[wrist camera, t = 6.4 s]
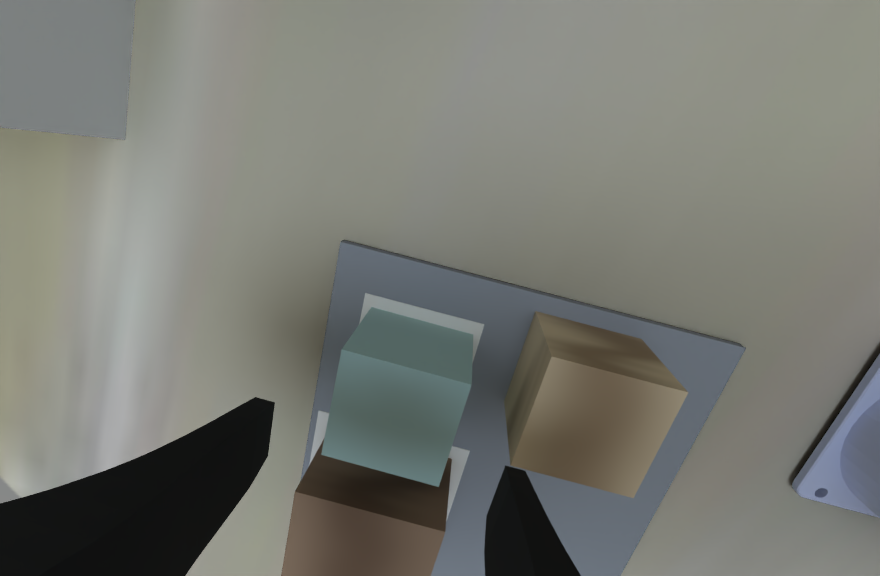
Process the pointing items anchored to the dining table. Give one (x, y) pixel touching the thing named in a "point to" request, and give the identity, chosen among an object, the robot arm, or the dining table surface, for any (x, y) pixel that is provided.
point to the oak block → (588, 405)
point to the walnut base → (364, 522)
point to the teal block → (399, 396)
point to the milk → (66, 66)
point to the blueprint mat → (483, 419)
